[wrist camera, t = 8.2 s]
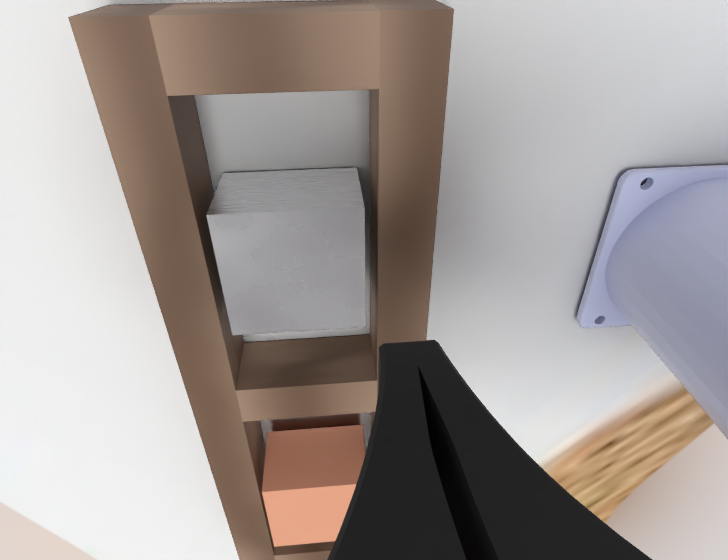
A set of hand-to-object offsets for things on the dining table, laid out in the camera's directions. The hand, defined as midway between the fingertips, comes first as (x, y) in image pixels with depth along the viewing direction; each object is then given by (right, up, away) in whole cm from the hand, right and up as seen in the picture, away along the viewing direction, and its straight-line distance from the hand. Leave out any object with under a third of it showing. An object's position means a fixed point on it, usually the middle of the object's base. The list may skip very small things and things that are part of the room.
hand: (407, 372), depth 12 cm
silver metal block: (-4, +4, +8) cm, 10 cm away
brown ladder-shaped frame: (-4, -1, +12) cm, 13 cm away
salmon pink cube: (-4, -8, +15) cm, 18 cm away
